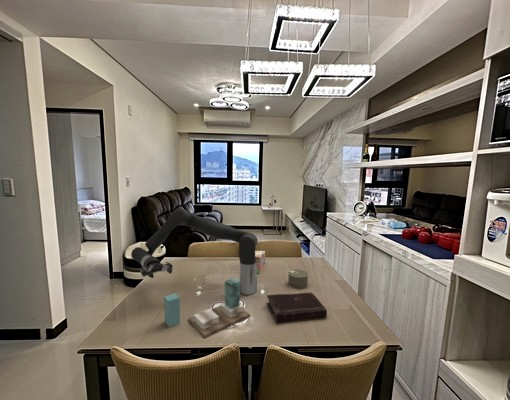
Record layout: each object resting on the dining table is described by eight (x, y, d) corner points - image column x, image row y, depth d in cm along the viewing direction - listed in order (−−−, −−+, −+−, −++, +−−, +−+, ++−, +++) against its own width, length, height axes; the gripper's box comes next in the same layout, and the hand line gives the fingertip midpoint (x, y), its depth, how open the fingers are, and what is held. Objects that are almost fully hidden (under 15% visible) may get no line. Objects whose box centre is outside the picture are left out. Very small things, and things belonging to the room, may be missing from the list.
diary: (326, 319, 117) (327, 309, 117) (275, 325, 112) (276, 314, 112) (310, 299, 135) (310, 290, 135) (265, 303, 130) (266, 294, 130)
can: (301, 290, 144) (301, 279, 144) (284, 284, 152) (284, 273, 151) (311, 283, 153) (311, 273, 153) (294, 278, 161) (294, 268, 160)
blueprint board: (231, 303, 128) (231, 273, 127) (250, 316, 117) (250, 283, 115) (188, 321, 113) (187, 286, 111) (204, 337, 102) (204, 300, 100)
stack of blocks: (257, 262, 188) (257, 246, 187) (265, 263, 187) (265, 247, 186) (251, 273, 168) (251, 255, 166) (260, 274, 166) (260, 256, 165)
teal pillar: (175, 317, 115) (175, 293, 114) (180, 322, 111) (179, 297, 110) (164, 322, 112) (164, 296, 111) (169, 327, 108) (168, 301, 107)
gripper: (135, 259, 125) (146, 269, 113) (164, 254, 134) (176, 262, 122) (136, 274, 126) (146, 285, 114) (164, 267, 135) (176, 277, 123)
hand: (162, 273), depth 118 cm, fingers open, 8 cm apart
